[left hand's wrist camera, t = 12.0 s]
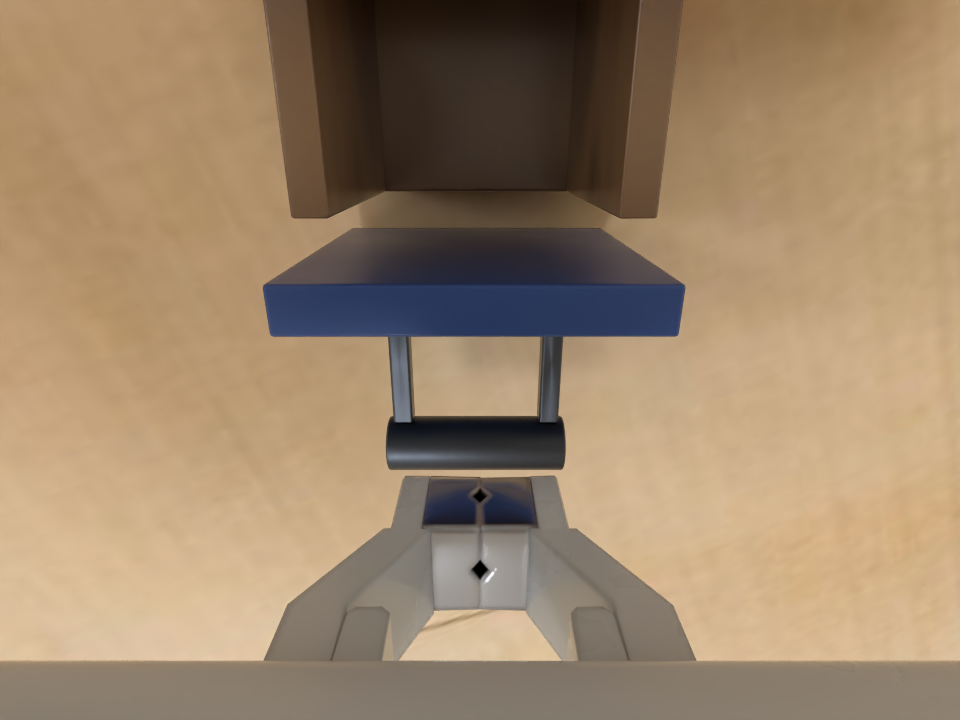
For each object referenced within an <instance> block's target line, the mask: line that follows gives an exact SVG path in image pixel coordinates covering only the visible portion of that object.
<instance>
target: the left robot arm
mask: <svg viewBox="0 0 960 720" xmlns="http://www.w3.org/2000/svg"><path fill="white" fill-rule="evenodd" d="M471 609H488V610H524V611H526V613H527V614H528V616H529V617H530V618H531V620H532V621H533V622H534V624H535V625H536V626H537V628H538V629H539V631H540V632H541V633H542V635H543V636H544V637H545V639H546V640H547V641H548V643H549V644H550V645H551V647H552V648H553V649H554V651H555V652H556V653H557V655H558V656H559V657H560V659H561V660H562V661H398V660H399V659H400V658H401V656H402V655H403V654H404V652H405V651H406V650H407V648H408V647H409V646H410V644H411V643H412V642H413V640H414V639H415V638H416V636H417V635H418V634H419V632H420V631H421V630H422V628H423V627H424V626H425V624H426V623H427V622H428V620H429V619H430V618H431V616H432V615H433V614H434V611H436V610H471ZM0 720H960V661H696V659H695V656H694V654H693V651H692V649H691V647H690V644H689V642H688V640H687V637H686V635H685V633H684V630H683V628H682V625H681V623H680V621H679V618H678V616H677V614H676V611H675V609H674V606H673V605H672V604H671V603H670V602H668V601H667V600H666V599H665V598H663V597H662V596H661V595H659V594H658V593H657V592H656V591H654V590H653V589H652V588H651V587H649V586H648V585H647V584H646V583H644V582H643V581H642V580H641V579H639V578H638V577H637V576H636V575H634V574H633V573H632V572H630V571H629V570H628V569H627V568H625V567H624V566H623V565H622V564H620V563H619V562H618V561H617V560H615V559H614V558H613V557H612V556H610V555H609V554H608V553H607V552H605V551H604V550H603V549H601V548H600V547H599V546H598V545H596V544H595V543H594V542H593V541H591V540H590V539H589V538H588V537H586V536H585V535H584V534H583V533H581V532H580V531H579V530H578V529H569V527H568V522H567V518H566V514H565V510H564V506H563V502H562V497H561V493H560V489H559V485H558V481H557V478H556V477H555V476H530V477H497V478H480V477H451V476H431V477H429V476H405V477H404V479H403V480H402V484H401V488H400V493H399V497H398V501H397V505H396V510H395V514H394V518H393V522H392V526H391V529H382V530H381V531H380V532H379V533H377V534H376V535H375V536H374V537H372V538H371V539H370V540H369V541H367V542H366V543H365V544H363V545H362V546H361V547H360V548H358V549H357V550H356V551H355V552H353V553H352V554H351V555H350V556H348V557H347V558H346V559H344V560H343V561H342V562H341V563H339V564H338V565H337V566H336V567H334V568H333V569H332V570H331V571H329V572H328V573H327V574H325V575H324V576H323V577H322V578H320V579H319V580H318V581H317V582H315V583H314V584H313V585H312V586H310V587H309V588H308V589H307V590H305V591H304V592H303V593H301V594H300V595H299V596H298V597H296V598H295V599H294V600H293V601H291V602H290V603H289V604H288V605H287V607H286V609H285V612H284V614H283V616H282V619H281V621H280V623H279V626H278V628H277V630H276V633H275V635H274V637H273V640H272V642H271V644H270V647H269V649H268V651H267V654H266V656H265V658H264V661H0Z"/></svg>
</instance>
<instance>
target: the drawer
mask: <svg viewBox="0 0 960 720" xmlns="http://www.w3.org/2000/svg"><path fill="white" fill-rule="evenodd" d="M263 2H264V10H265V18H266V26H267V33H268V41H269V49H270V56H271V64H272V72H273V80H274V87H275V95H276V103H277V111H278V118H279V126H280V134H281V142H282V149H283V157H284V165H285V173H286V180H287V188H288V196H289V204H290V211H291V216H292V218H329V217H331V216H333V215H335V214H337V213H339V212H342V211H344V210H346V209H348V208H350V207H352V206H354V205H357V204H359V203H361V202H363V201H365V200H367V199H369V198H372V197H374V196H376V195H378V194H380V193H382V192H384V191H567V192H569V193H571V194H573V195H575V196H577V197H579V198H581V199H583V200H585V201H587V202H589V203H591V204H593V205H595V206H597V207H599V208H601V209H603V210H605V211H607V212H609V213H611V214H613V215H615V216H617V217H619V218H656V217H657V212H658V203H659V195H660V187H661V179H662V170H663V162H664V154H665V146H666V137H667V129H668V121H669V113H670V104H671V96H672V88H673V80H674V71H675V63H676V55H677V47H678V38H679V30H680V22H681V14H682V5H683V0H263ZM263 292H264V298H265V305H266V311H267V317H268V324H269V330H270V335H271V336H274V337H388V343H389V357H390V372H391V386H392V401H393V416H392V417H390V419H389V422H388V427H387V435H386V458H387V464H388V467H389V469H390V470H561V469H563V467H564V463H565V451H566V442H565V429H564V423H563V419H562V417H560V416H558V410H559V394H560V378H561V362H562V346H563V337H674V336H678V334H679V327H680V321H681V314H682V307H683V300H684V294H685V285H684V284H683V283H681V282H680V281H678V280H677V279H675V278H674V277H672V276H671V275H669V274H668V273H666V272H665V271H663V270H662V269H660V268H659V267H657V266H656V265H654V264H653V263H651V262H650V261H648V260H647V259H645V258H644V257H642V256H641V255H639V254H638V253H636V252H635V251H633V250H632V249H630V248H629V247H627V246H626V245H624V244H623V243H621V242H620V241H618V240H617V239H615V238H614V237H612V236H611V235H609V234H608V233H606V232H605V231H604V230H602V229H600V228H352V229H351V230H349V231H347V232H346V233H344V234H343V235H341V236H340V237H338V238H336V239H335V240H333V241H332V242H330V243H329V244H327V245H325V246H324V247H322V248H321V249H319V250H318V251H316V252H314V253H313V254H311V255H310V256H308V257H307V258H305V259H304V260H302V261H300V262H299V263H297V264H296V265H294V266H293V267H291V268H289V269H288V270H286V271H285V272H283V273H282V274H280V275H278V276H277V277H275V278H274V279H272V280H271V281H269V282H268V283H266V284H264V286H263ZM411 337H541V339H540V361H539V383H538V405H537V416H414V415H415V408H414V389H413V370H412V350H411Z"/></svg>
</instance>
